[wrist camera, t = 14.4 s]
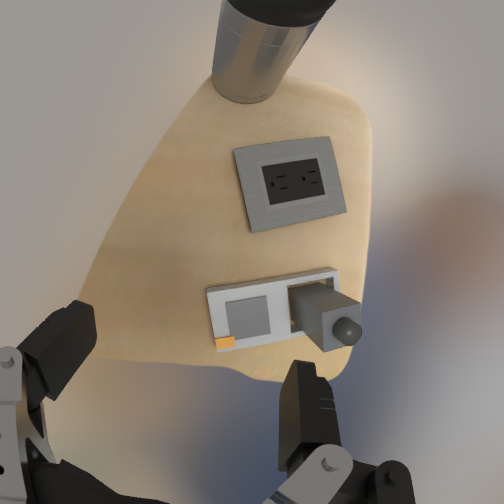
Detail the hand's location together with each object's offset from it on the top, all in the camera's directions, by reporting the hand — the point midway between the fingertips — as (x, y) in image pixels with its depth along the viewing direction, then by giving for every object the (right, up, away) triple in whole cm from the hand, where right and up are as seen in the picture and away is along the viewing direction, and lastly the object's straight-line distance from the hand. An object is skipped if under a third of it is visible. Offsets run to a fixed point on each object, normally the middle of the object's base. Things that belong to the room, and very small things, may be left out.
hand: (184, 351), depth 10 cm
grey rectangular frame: (+6, -4, +27) cm, 28 cm away
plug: (+10, -3, +28) cm, 30 cm away
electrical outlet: (+7, +13, +27) cm, 30 cm away
